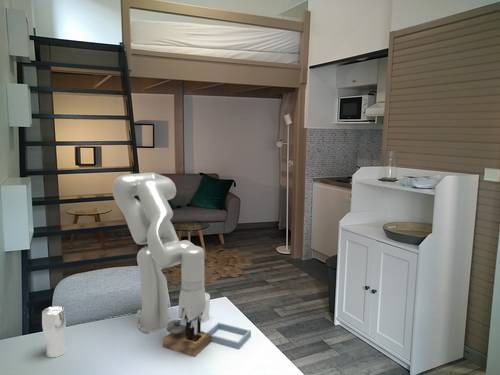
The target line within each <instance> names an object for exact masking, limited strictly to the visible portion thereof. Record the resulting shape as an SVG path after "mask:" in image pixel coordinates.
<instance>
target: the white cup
mask: <svg viewBox="0 0 500 375" xmlns="http://www.w3.org/2000/svg"><path fill="white" fill-rule="evenodd" d="M205 299H206V305H205V310H204V311H203V314H202V316H201V318H202V320H201V323H204V322H207V321H208V320H209V318H210V317H209V316H210V306H211V303H210V302H211V301H210V300H211V295H210V293H207V292H205Z"/></svg>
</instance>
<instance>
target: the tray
mask: <svg viewBox="0 0 500 375" xmlns="http://www.w3.org/2000/svg"><path fill="white" fill-rule="evenodd" d="M219 330H220V331H225V332H228V333H232V334H236V335H241V336H242V337H241V338H240V339H239V340H238V341H236V340H231V339H228V338H225V337H221V336H217V335H214V334H215V333H217V332H218V331H219ZM206 333H209V334H211V343H215V344H218V345H221V346H226V347H230V348H233V349H237V350H240V349H241V347H243V345H244V344H246V342H247V341H248V340H249V338H251V337H252V336H251V335H252V330H250V329H246V328H242V327H238V326H234V325H230V324H225V323H223V322H217V323H215V325H214V326H213V327H211V328H210V329H209V330H207V332H206Z"/></svg>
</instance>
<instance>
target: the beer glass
mask: <svg viewBox="0 0 500 375" xmlns="http://www.w3.org/2000/svg"><path fill="white" fill-rule="evenodd" d="M41 313H42V314H41V326H42V327H41V328H42V331H43V334H44V338H45V342H46V352H45V356H46V357H47V358H52V359H53V358H57V357H61V356H63V355H64V354H66V352H67V347H66V342H65V336H66V335H65V333H66V327H67V326H66V325H67V320H66V319H67V318H66V313H65V307H64V306H62V305H54V306H49V307H46V308H44V310H42V312H41Z"/></svg>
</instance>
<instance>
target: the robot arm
mask: <svg viewBox="0 0 500 375" xmlns="http://www.w3.org/2000/svg"><path fill="white" fill-rule="evenodd" d="M111 188H112V196H113V198H114V201H115V203H116V205H117V206H118V208H119V210H120V211H121V212H122V214H123V216H124V219H125V221H126V223H127V227H128V229H129V232H130V234H131V237H132V239H133V241H134V243H136V244H137V245H146V244H147V246H144V247H142V248H140V249H139V251H138V252H137V255H136V261H137V262H136V263H137V266H138V269H139V276H140V277H139V278H140V291H141V292H140V293H141V294H140V295H141V309H138V310H137V312H136V314H135V316H134V317H135V318H137V319H139V323H138V326H137V327H138V331H141V332H142V333H144V334H150V333H151V332H152V333H155V332H156V333H157V332H161V331H164V330H167V324H168V323H169V322H170V321H173V320H172V318H171V317H169V312H168V311H169V309H168V308H169V307H168V306H169V305H168V302H169V301H168V280H167V277H166V275H165V274H164V273H162V270H163V269H168V268H171V267H174V266H177V265H180V269H181V270H180V271H181V275H180V278H181V284H180V285H181V290H179V298H178V313H177V315H178V318H179V319H180V320H181V322H180V325H184V326H185V327H186V337H189V338H192V339H193V338H194V327H193V320H194V318H195V317H197V316H198V315H199V318H198V333H200V332H201V326H202V325H201V324H202V322H201V320H202V318H201V316H202V314H203V311H204V310H205V305H206V299H205V293H206V289H205V249H204V248H203V247H201V246H199V245H195V244H194V243H192V242H191V241H190V240H187V239H184V240H180V239H179V237H178V235H177V233H176V229H175V227H174V225H173V223H172V222H171V220H172V218H173V215H174V212H173V209H172V207H171V205H170V204H169V202H168V201H169V200H172V199H174V198H175V197H176V195H177V188H176V184H175V182H173V180H172V179H171V178H170V177H168V176H164V175H162V174H159V173H155V172H143V173H130V174H129V173H128V174H122V175H120V176H118V177H116V178H115V179H114V181H113V182H112V187H111ZM135 196H137V197H138V198H139V199H137V198H135ZM189 321H190V323H189Z"/></svg>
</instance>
